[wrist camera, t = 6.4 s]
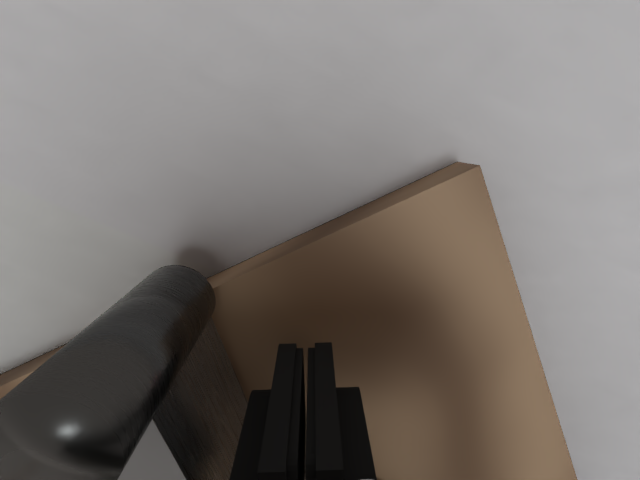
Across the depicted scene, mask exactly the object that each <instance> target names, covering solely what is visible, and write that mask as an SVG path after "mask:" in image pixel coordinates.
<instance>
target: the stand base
mask: <svg viewBox="0 0 640 480" xmlns="http://www.w3.org/2000/svg"><path fill="white" fill-rule="evenodd" d="M207 280H208V282H209V283H210V284H211V286H212V288H213V290H214V293H215V298H216V304H215V309H214V312H213V314H212V316H211V318H212V320H213V322H214V325H215V327H216V329H217V332H218V334H219V336H220V338H221V341H222V343H223V345H224V348H225V350H226V352H227V355H228V357H229V359H230V362H231V364H232V366H233V369H234V371H235V373H236V376H237V378H238V380H239V383H240V385H241V387H242V390H243V392H244V394H245V397H246V399H247V401H249V397H250V394H251V391H252V390H268V389H271V387H272V381H273V375H274V369H275V363H276V357H277V351H278V346H279V344H290V343H296V345H297V348H303V356H304V382H305V407H306V412H307V369H308V348H315V343H325V342H332V350H333V360H334V371H335V382H336V387H359V389H360V393H361V398H362V403H363V409H364V414H365V419H366V425H367V430H368V435H369V441H370V446H371V451H372V457H373V462H374V467H375V473H376V478H377V480H577V477H576V474H575V471H574V468H573V464H572V461H571V458H570V455H569V452H568V448H567V445H566V442H565V439H564V435H563V432H562V429H561V426H560V423H559V419H558V416H557V413H556V410H555V406H554V403H553V400H552V397H551V393H550V390H549V387H548V384H547V381H546V377H545V374H544V371H543V368H542V364H541V361H540V358H539V355H538V352H537V348H536V345H535V342H534V339H533V335H532V332H531V329H530V326H529V323H528V319H527V316H526V313H525V310H524V306H523V303H522V300H521V297H520V293H519V290H518V287H517V284H516V281H515V277H514V274H513V271H512V268H511V264H510V261H509V258H508V255H507V252H506V248H505V245H504V242H503V239H502V235H501V232H500V229H499V226H498V223H497V219H496V216H495V213H494V210H493V206H492V203H491V200H490V197H489V193H488V190H487V187H486V184H485V181H484V177H483V174H482V171H481V168H480V165H474V164H467V163H461V162H456V163H454V164H452V165H450V166H447V167H445V168H443V169H441V170H439V171H437V172H435V173H432V174H430V175H428V176H426V177H424V178H422V179H420V180H417V181H415V182H413V183H411V184H409V185H407V186H404V187H402V188H400V189H398V190H396V191H394V192H392V193H389V194H387V195H385V196H383V197H381V198H379V199H377V200H374V201H372V202H370V203H368V204H366V205H364V206H362V207H359V208H357V209H355V210H353V211H351V212H349V213H347V214H344V215H342V216H340V217H338V218H336V219H334V220H331V221H329V222H327V223H325V224H323V225H321V226H319V227H316V228H314V229H312V230H310V231H308V232H306V233H304V234H301V235H299V236H297V237H295V238H293V239H291V240H289V241H286V242H284V243H282V244H280V245H278V246H276V247H274V248H271V249H269V250H267V251H265V252H263V253H261V254H258V255H256V256H254V257H252V258H250V259H248V260H246V261H243V262H241V263H239V264H237V265H235V266H233V267H231V268H228V269H226V270H224V271H222V272H220V273H218V274H216V275H213V276H211V277H209V278H207ZM65 345H66V344H65ZM65 345H63V346H61V347H59V348H57V349H54V350H52V351H50V352H48V353H46V354H44V355H42V356H39V357H37V358H35V359H33V360H31V361H29V362H27V363H24V364H22V365H20V366H18V367H16V368H14V369H12V370H9V371H7V372H5V373H3V374H1V375H0V399H1V398H2V397H4V396H5V395H6V394H7V393H8V392H10V391H11V390H12V389H13V388H14V387H16V386H17V385H18V384H19V383H20V382H22V381H23V380H24V379H25V378H26V377H28V376H29V375H30V374H31V373H33V372H34V371H35V370H36V369H37V368H39V367H40V366H41V365H42V364H43V363H45V362H46V361H47V360H48V359H49V358H51V357H52V356H53V355H54V354H55V353H57V352H58V351H59V350H60V349H61V348H63V347H64V346H65ZM305 455H306V443H305Z"/></svg>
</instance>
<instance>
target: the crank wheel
mask: <svg viewBox="0 0 640 480" xmlns="http://www.w3.org/2000/svg"><path fill="white" fill-rule="evenodd" d="M215 304H216V298H215V293H214V290H213V288H212V286H211V284H210V283H209V282H208V280H207V279H206V278H205V277H204V276H203V275H201V274H200V273H199V272H197V271H195V270H193V269H191V268H188V267H185V266H179V265H171V266H165V267H162V268H159V269H157V270H156V271H154V272H153V273H152V274H150V275H149V276H148V277H147V278H146V279H144V280H143V281H142V282H141V283H140V284H138V285H137V286H136V287H135V288H133V289H132V290H131V291H130V292H129V293H127V294H126V295H125V296H124V297H123V298H121V299H120V300H119V301H118V302H117V303H115V304H114V305H113V306H112V307H111V308H109V309H108V310H107V311H106V312H105V313H103V314H102V315H101V316H100V317H99V318H97V319H96V320H95V321H94V322H93V323H91V324H90V325H89V326H88V327H87V328H85V329H84V330H83V331H82V332H81V333H79V334H78V335H77V336H76V337H75V338H73V339H72V340H71V341H70V342H69V343H67V344H66V345H65V346H64V347H63V348H61V349H60V350H59V351H58V352H57V353H55V354H54V355H53V356H52V357H51V358H49V359H48V360H47V361H46V362H45V363H43V364H42V365H41V366H40V367H39V368H37V369H36V370H35V371H34V372H33V373H31V374H30V375H29V376H28V377H26V378H25V379H24V380H23V381H22V382H20V383H19V384H18V385H17V386H16V387H14V388H13V389H12V390H11V391H10V392H8V393H7V394H6V395H5V396H4V397H2V398H1V399H0V480H229V479H230V475H231V470H232V466H233V462H234V458H235V454H236V450H237V446H238V442H239V438H240V434H241V430H242V426H243V422H244V417H245V413H246V409H247V405H248V401H247V399H246V397H245V394H244V392H243V390H242V387H241V385H240V383H239V380H238V378H237V376H236V373H235V371H234V369H233V366H232V364H231V362H230V359H229V357H228V355H227V352H226V350H225V348H224V345H223V343H222V341H221V338H220V336H219V334H218V332H217V329H216V327H215V325H214V322H213V320H212V318H211V316H212V314H213V312H214V309H215ZM305 480H306V474H305Z"/></svg>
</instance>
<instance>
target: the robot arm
mask: <svg viewBox="0 0 640 480" xmlns="http://www.w3.org/2000/svg"><path fill="white" fill-rule="evenodd" d="M305 443H306V455H305ZM305 474H306V480H377V478H376V473H375V467H374V462H373V457H372V451H371V446H370V441H369V435H368V430H367V425H366V419H365V414H364V409H363V403H362V398H361V393H360V389H359V387H336V382H335V371H334V360H333V350H332V342H325V343H315V348H308V369H307V412H306V407H305V382H304V356H303V348H297V345H296V343H290V344H279V346H278V351H277V357H276V363H275V369H274V375H273V381H272V387H271V389H268V390H252V391H251V394H250V397H249V401H248V405H247V409H246V413H245V417H244V422H243V426H242V430H241V434H240V438H239V442H238V446H237V450H236V454H235V458H234V462H233V466H232V470H231V475H230V479H229V480H305Z"/></svg>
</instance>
